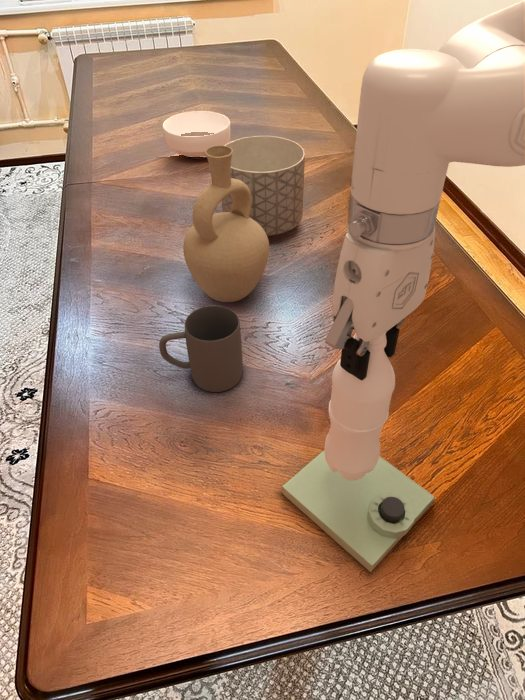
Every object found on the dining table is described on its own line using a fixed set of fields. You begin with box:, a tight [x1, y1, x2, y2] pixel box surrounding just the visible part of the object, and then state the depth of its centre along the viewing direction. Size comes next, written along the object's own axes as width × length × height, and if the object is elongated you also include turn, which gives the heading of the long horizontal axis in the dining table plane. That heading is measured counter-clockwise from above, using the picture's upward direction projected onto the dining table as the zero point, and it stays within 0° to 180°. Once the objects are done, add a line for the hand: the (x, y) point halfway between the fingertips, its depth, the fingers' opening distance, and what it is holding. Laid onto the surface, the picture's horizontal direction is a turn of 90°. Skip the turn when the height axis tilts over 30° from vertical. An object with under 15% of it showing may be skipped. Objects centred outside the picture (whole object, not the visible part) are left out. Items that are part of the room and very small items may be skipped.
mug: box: [158, 304, 244, 393], centre depth 90 cm, size 14×9×12 cm
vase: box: [182, 146, 270, 303], centre depth 101 cm, size 17×17×30 cm
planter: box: [221, 135, 306, 237], centre depth 124 cm, size 19×19×18 cm
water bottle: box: [323, 332, 396, 480], centre depth 64 cm, size 7×7×25 cm
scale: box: [281, 449, 436, 573], centre depth 75 cm, size 16×14×4 cm
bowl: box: [162, 110, 231, 159], centre depth 159 cm, size 20×20×8 cm
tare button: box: [380, 497, 405, 523], centre depth 71 cm, size 3×3×2 cm
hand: (367, 360), depth 59 cm, fingers closed on water bottle, 4 cm apart
